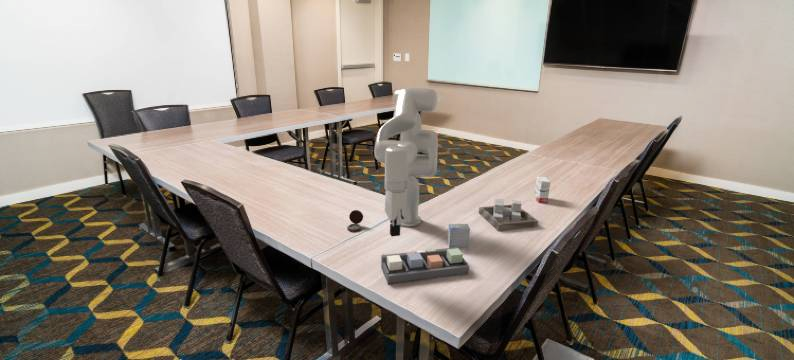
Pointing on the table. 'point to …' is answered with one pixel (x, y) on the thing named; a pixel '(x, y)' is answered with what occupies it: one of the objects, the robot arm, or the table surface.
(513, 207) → the gray cube cluster
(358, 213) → the compass
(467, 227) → the medicine box
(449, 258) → the key sage
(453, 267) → the grey compartment tray
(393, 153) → the robot arm
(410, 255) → the key slate
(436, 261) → the peach square block
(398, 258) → the key ivory
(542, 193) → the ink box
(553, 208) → the table surface
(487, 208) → the square grey tray
